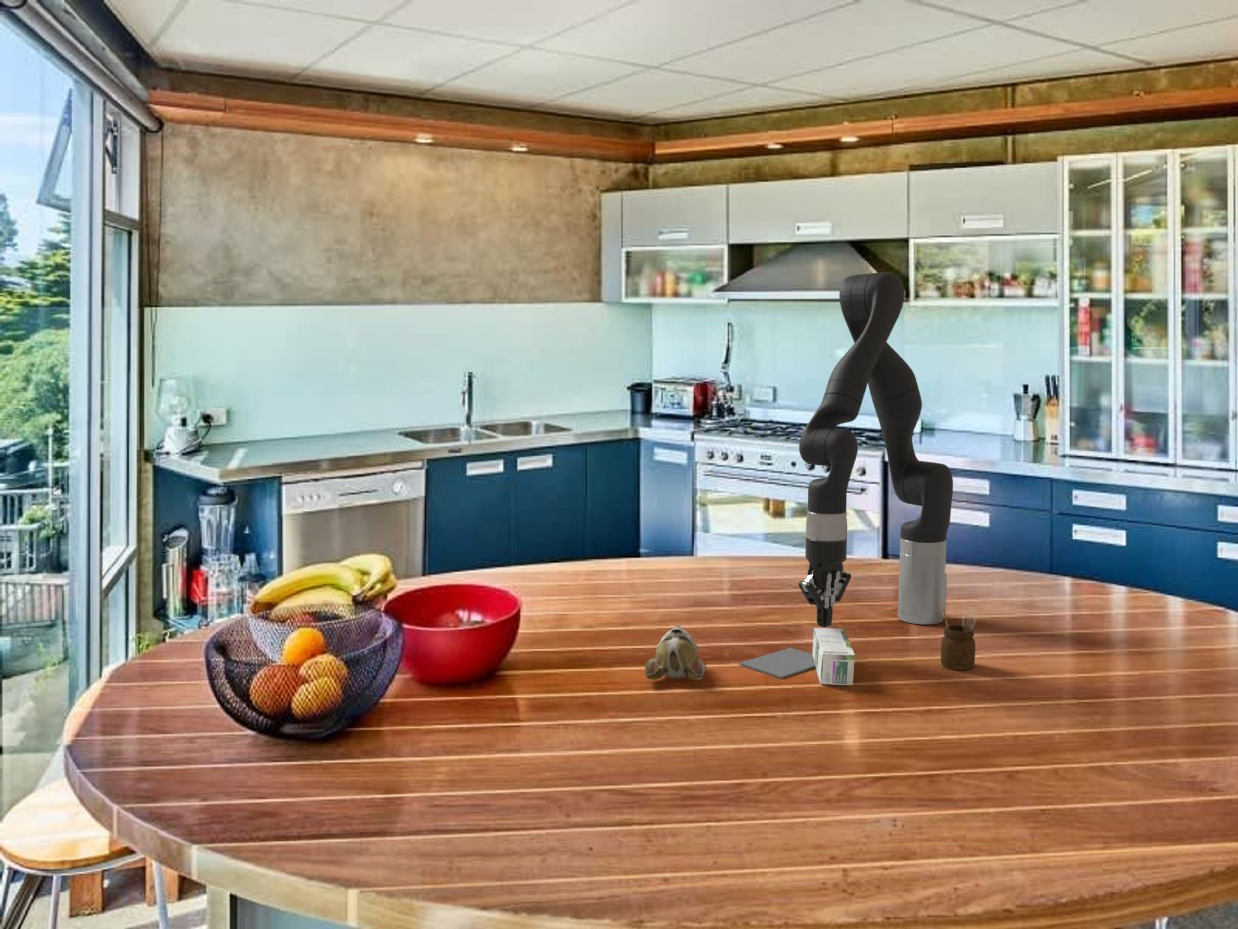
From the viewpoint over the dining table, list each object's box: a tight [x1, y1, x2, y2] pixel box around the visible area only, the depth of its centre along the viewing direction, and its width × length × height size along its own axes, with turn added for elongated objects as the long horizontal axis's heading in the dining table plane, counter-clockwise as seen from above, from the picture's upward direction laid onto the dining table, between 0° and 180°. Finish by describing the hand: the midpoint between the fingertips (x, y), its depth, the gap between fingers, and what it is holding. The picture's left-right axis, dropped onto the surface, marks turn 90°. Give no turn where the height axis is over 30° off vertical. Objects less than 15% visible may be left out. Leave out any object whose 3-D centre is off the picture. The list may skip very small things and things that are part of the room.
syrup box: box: [811, 627, 856, 686], centre depth 191 cm, size 6×6×14 cm
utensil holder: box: [940, 600, 978, 671], centre depth 194 cm, size 6×6×12 cm
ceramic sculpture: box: [644, 624, 707, 681], centre depth 190 cm, size 11×9×15 cm
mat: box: [739, 647, 816, 679], centre depth 196 cm, size 14×10×1 cm
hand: (824, 626), depth 201 cm, fingers closed
